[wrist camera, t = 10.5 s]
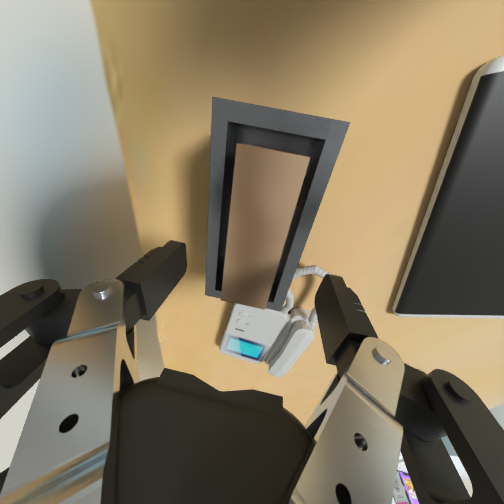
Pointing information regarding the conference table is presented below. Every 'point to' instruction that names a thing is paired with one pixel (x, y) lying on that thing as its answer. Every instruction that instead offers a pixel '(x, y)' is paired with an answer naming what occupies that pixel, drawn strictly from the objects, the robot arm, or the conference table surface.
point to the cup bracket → (275, 137)
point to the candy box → (404, 490)
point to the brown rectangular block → (259, 220)
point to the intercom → (271, 331)
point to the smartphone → (464, 216)
